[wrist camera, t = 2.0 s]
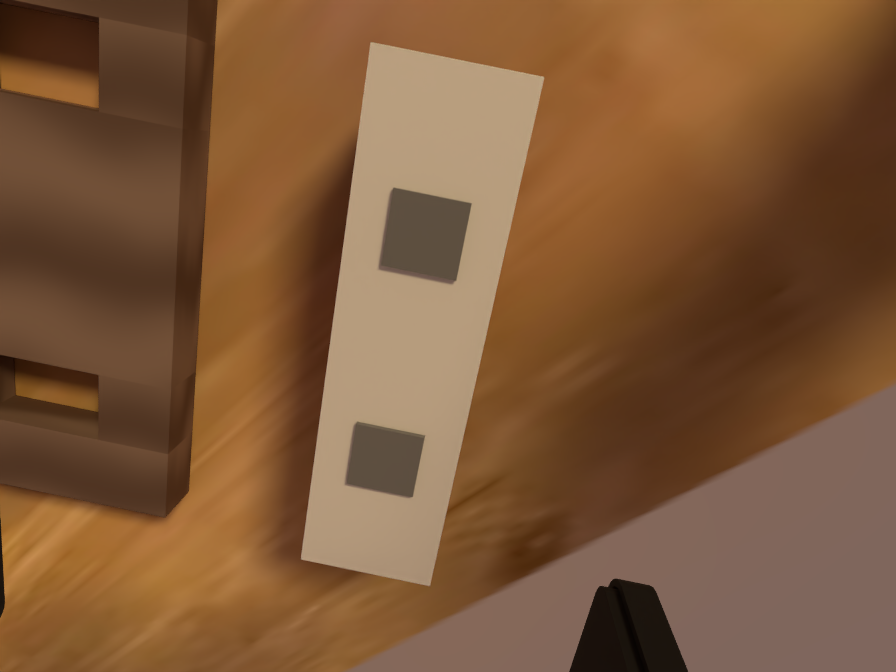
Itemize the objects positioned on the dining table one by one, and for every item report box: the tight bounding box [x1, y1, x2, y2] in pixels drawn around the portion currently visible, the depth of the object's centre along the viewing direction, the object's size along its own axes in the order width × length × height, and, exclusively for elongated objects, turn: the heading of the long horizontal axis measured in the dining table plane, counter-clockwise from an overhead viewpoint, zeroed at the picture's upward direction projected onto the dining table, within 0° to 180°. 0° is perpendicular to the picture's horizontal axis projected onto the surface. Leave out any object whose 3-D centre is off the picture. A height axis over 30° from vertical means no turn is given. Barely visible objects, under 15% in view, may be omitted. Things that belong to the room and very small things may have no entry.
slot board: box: [0, 0, 217, 517], centre depth 24 cm, size 24×12×2 cm, turn 169°
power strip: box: [301, 42, 544, 586], centre depth 22 cm, size 5×18×7 cm, turn 169°
